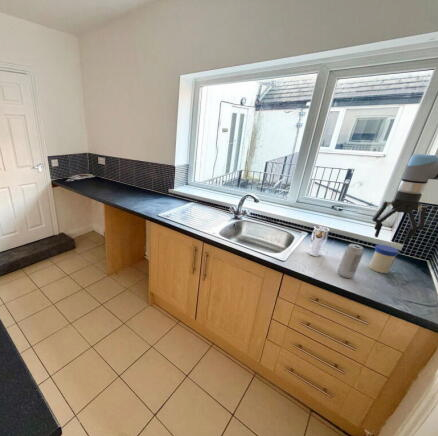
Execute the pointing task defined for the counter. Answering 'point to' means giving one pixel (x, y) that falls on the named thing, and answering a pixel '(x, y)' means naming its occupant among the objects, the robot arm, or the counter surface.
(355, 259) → the energy drink can
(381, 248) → the jar lid
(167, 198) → the counter surface
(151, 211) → the counter surface
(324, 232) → the beer glass
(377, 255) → the jam jar
